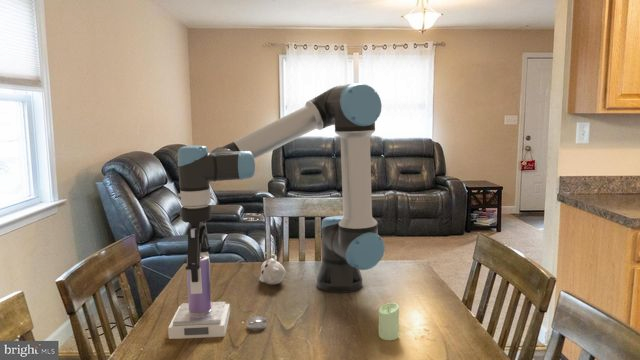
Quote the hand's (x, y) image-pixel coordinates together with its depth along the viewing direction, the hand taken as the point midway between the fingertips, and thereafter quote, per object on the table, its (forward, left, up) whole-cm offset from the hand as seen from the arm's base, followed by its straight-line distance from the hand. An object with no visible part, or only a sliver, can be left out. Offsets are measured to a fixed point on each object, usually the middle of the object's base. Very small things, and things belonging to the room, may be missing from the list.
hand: (200, 283), depth 128 cm
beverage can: (0, 0, -8) cm, 8 cm away
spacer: (-15, +2, -12) cm, 19 cm away
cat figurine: (-18, -31, -12) cm, 38 cm away
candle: (-48, +11, -12) cm, 51 cm away
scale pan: (0, 0, -9) cm, 9 cm away
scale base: (0, 0, -12) cm, 12 cm away
